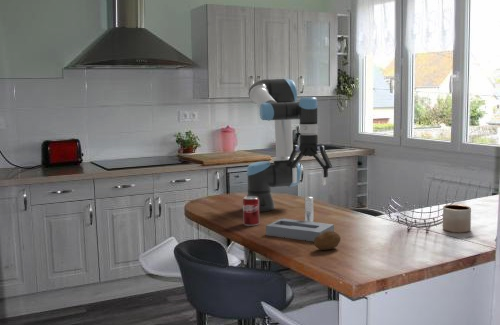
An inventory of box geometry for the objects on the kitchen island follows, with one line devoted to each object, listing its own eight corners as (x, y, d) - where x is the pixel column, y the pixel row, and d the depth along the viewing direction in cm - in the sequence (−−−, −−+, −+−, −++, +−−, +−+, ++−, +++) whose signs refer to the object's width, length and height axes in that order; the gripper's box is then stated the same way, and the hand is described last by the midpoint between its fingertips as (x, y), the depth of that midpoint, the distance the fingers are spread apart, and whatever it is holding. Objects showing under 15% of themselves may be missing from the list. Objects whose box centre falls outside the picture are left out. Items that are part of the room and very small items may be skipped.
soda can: (257, 226, 238) (257, 199, 237) (241, 225, 240) (241, 199, 238) (260, 222, 245) (260, 196, 244) (245, 222, 247) (244, 195, 245)
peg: (307, 225, 238) (307, 196, 236) (314, 226, 236) (314, 197, 234) (303, 227, 235) (303, 197, 233) (311, 228, 233) (311, 198, 231)
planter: (469, 227, 229) (470, 205, 227) (471, 234, 218) (471, 210, 217) (442, 226, 232) (442, 203, 231) (442, 232, 222) (443, 209, 221)
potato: (309, 250, 201) (308, 231, 200) (331, 244, 208) (331, 226, 207) (321, 254, 196) (321, 235, 195) (344, 248, 203) (344, 230, 202)
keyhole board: (266, 235, 224) (265, 225, 223) (282, 227, 235) (282, 218, 235) (319, 242, 211) (319, 232, 211) (334, 234, 223) (334, 224, 222)
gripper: (278, 134, 233) (279, 183, 236) (332, 135, 220) (332, 187, 223) (286, 133, 240) (287, 180, 242) (339, 134, 227) (339, 184, 229)
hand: (309, 184), depth 233 cm, fingers open, 13 cm apart
